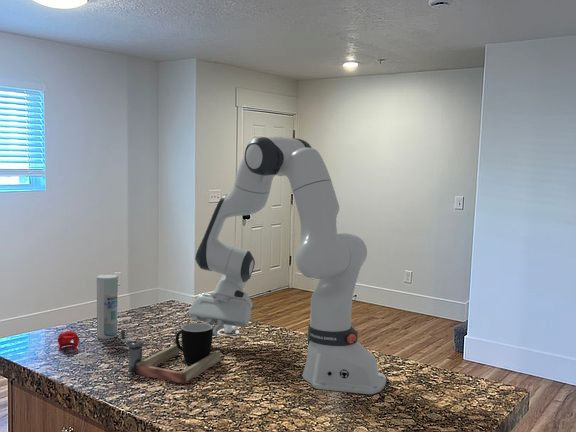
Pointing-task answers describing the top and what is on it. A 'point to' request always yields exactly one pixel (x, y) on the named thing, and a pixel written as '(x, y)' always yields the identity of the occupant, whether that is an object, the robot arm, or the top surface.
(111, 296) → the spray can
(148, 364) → the bay
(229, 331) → the teacup and saucer
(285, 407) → the top surface
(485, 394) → the top surface
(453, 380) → the top surface
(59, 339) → the cap
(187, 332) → the mug
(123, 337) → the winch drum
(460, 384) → the top surface
